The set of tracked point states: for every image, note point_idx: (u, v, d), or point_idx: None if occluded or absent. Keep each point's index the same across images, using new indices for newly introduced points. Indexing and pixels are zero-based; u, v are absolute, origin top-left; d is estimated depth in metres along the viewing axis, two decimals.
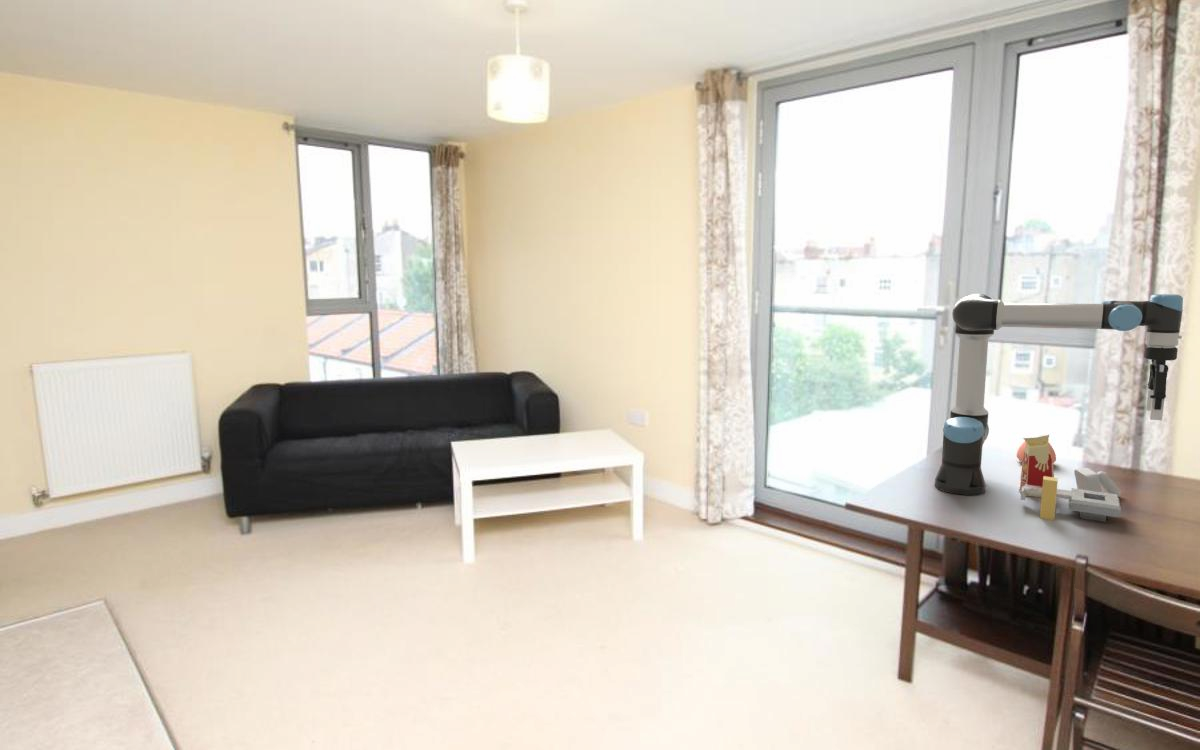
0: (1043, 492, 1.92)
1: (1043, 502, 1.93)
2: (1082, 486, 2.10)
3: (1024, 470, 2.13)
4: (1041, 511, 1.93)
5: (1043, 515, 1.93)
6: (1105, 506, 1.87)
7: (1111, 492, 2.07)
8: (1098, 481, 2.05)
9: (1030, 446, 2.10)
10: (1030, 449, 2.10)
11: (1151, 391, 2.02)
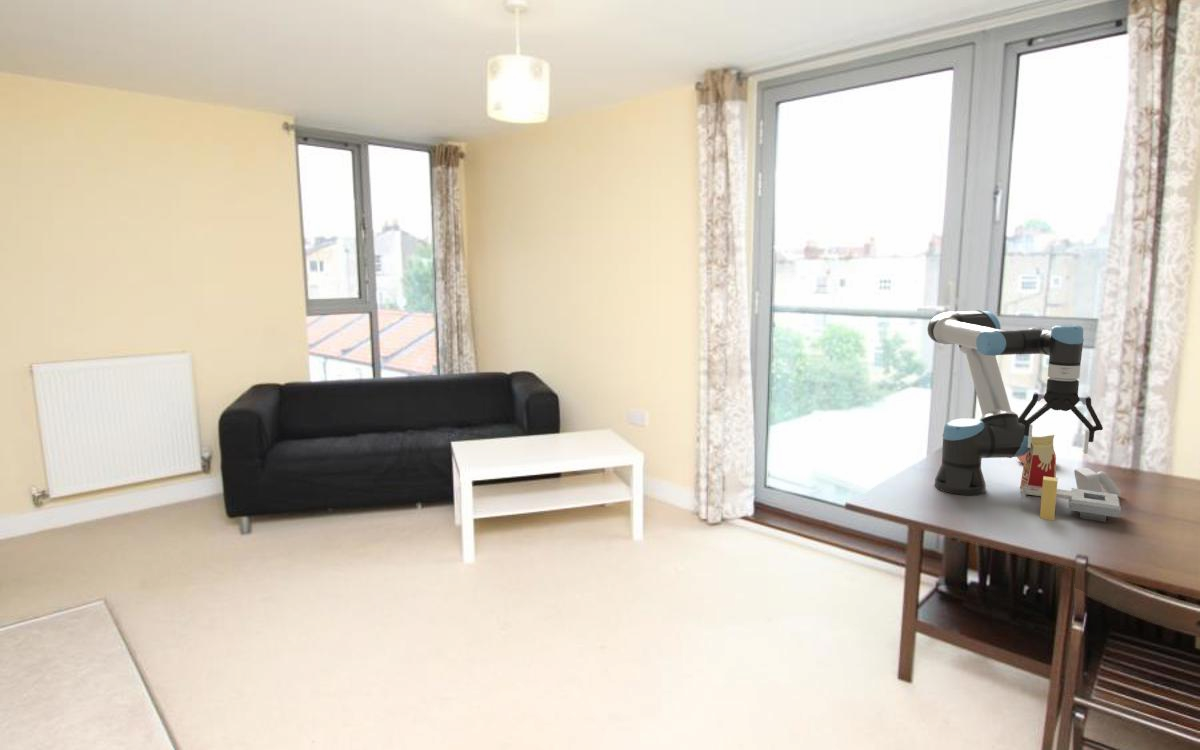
0: (1043, 492, 1.92)
1: (1043, 502, 1.93)
2: (1082, 486, 2.10)
3: (1026, 469, 2.13)
4: (1041, 511, 1.93)
5: (1043, 515, 1.93)
6: (1105, 506, 1.87)
7: (1111, 492, 2.07)
8: (1098, 481, 2.05)
9: (1034, 445, 2.09)
10: (1034, 448, 2.09)
11: (1085, 431, 1.87)
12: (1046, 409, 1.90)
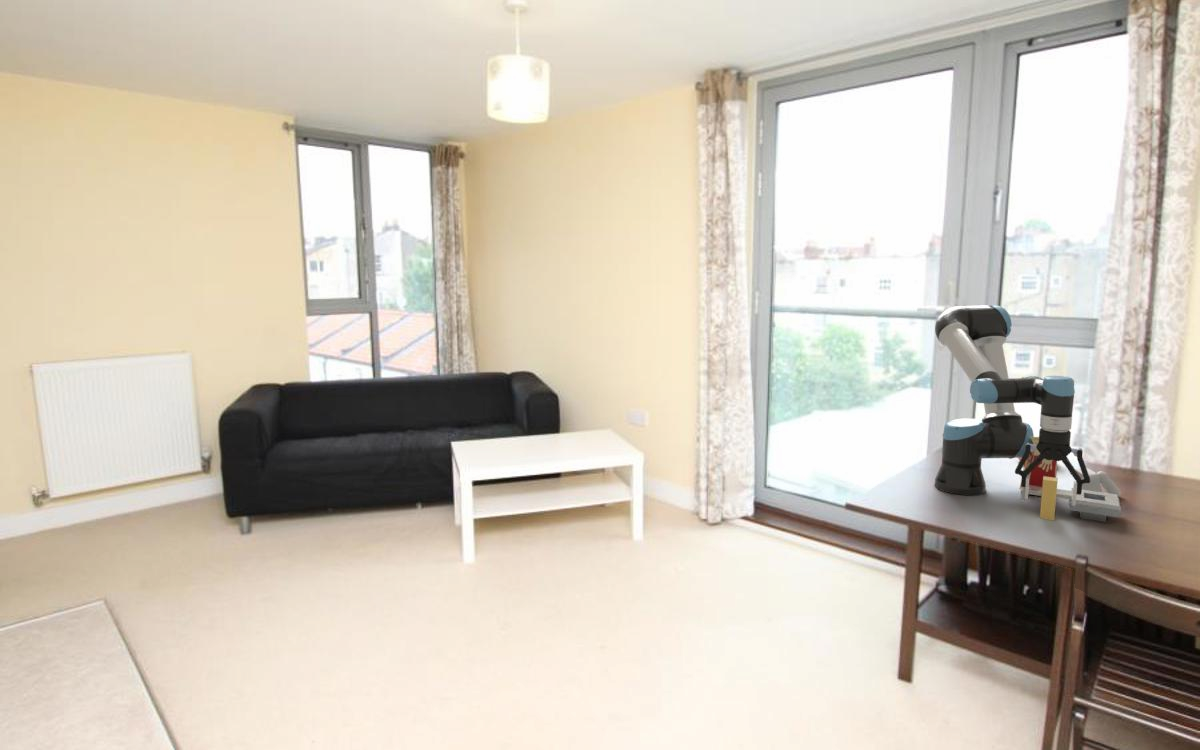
0: (1043, 492, 1.92)
1: (1043, 502, 1.93)
2: (1082, 486, 2.10)
3: None
4: (1041, 511, 1.93)
5: (1043, 515, 1.93)
6: (1105, 506, 1.87)
7: (1111, 492, 2.07)
8: (1098, 481, 2.05)
9: None
10: (1036, 449, 2.08)
11: None
12: (1040, 460, 1.92)
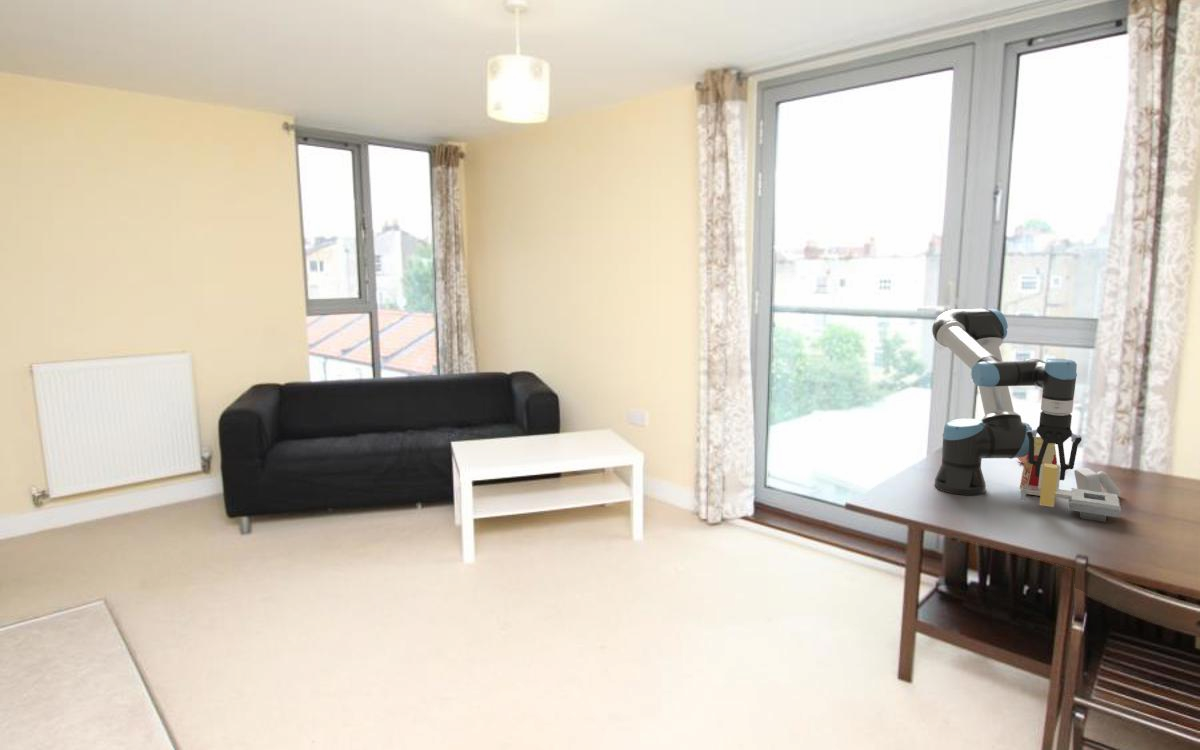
0: (1043, 479, 1.92)
1: (1043, 489, 1.93)
2: (1082, 486, 2.10)
3: (1027, 468, 2.12)
4: (1041, 498, 1.93)
5: (1043, 502, 1.93)
6: (1105, 506, 1.87)
7: (1111, 492, 2.07)
8: (1098, 481, 2.05)
9: (1036, 445, 2.08)
10: (1036, 449, 2.08)
11: None
12: (1045, 445, 1.90)
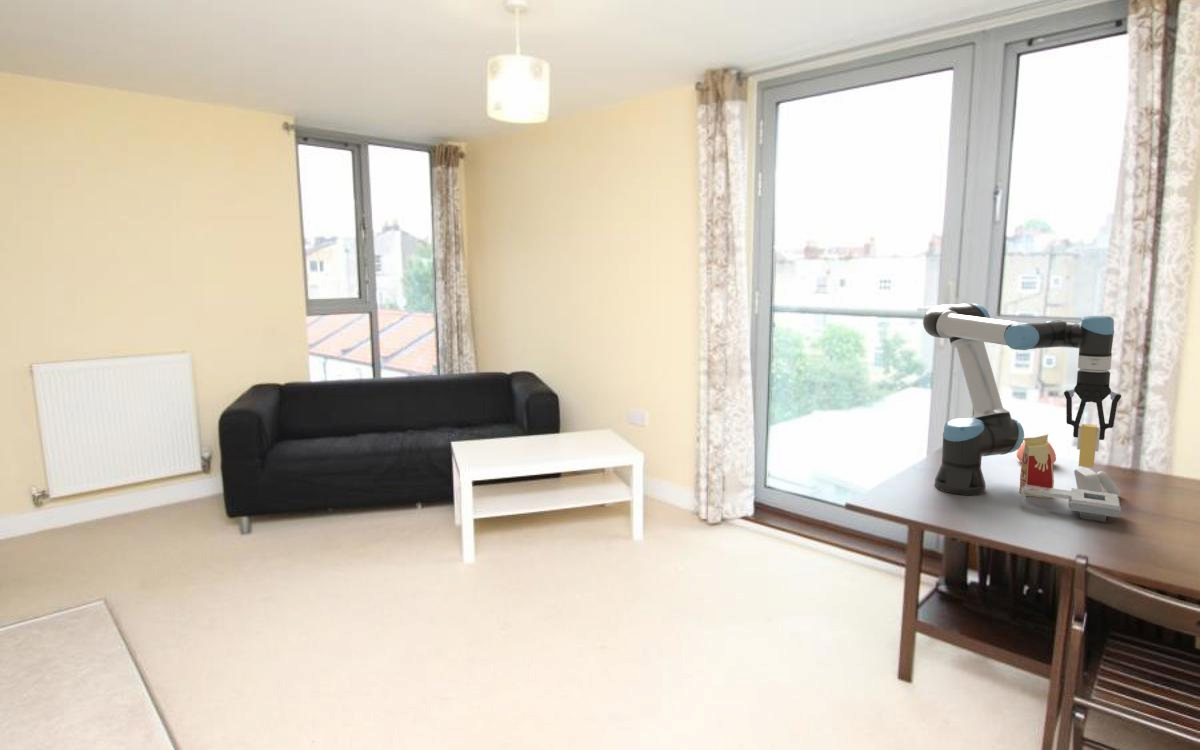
0: (1082, 439, 1.88)
1: (1082, 450, 1.89)
2: (1082, 486, 2.10)
3: (1024, 470, 2.13)
4: (1080, 459, 1.89)
5: (1082, 463, 1.89)
6: (1105, 506, 1.87)
7: (1111, 492, 2.07)
8: (1098, 481, 2.05)
9: (1029, 446, 2.10)
10: (1029, 449, 2.10)
11: None
12: (1083, 404, 1.87)
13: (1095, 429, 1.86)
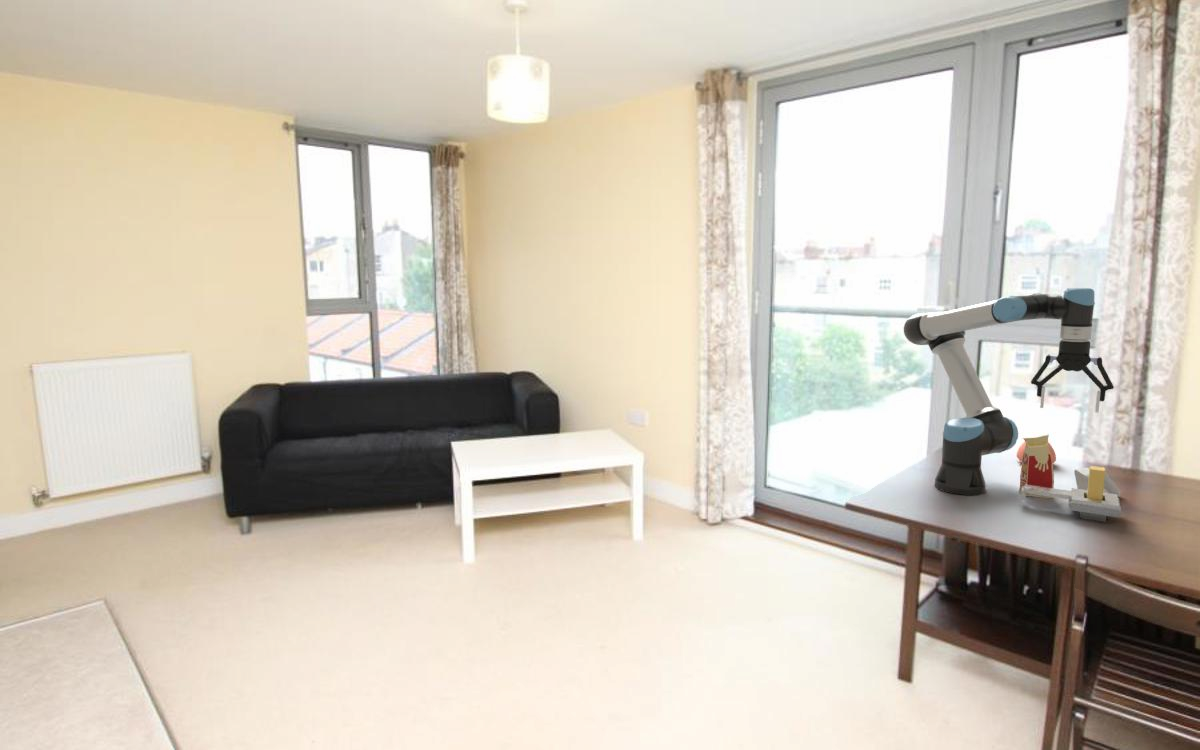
0: (1090, 482, 1.91)
1: (1090, 492, 1.91)
2: (1082, 486, 2.10)
3: (1024, 470, 2.13)
4: None
5: None
6: (1105, 506, 1.87)
7: (1111, 492, 2.07)
8: None
9: (1030, 446, 2.10)
10: (1030, 449, 2.10)
11: (1097, 391, 1.93)
12: (1058, 370, 1.96)
13: (1103, 472, 1.89)
